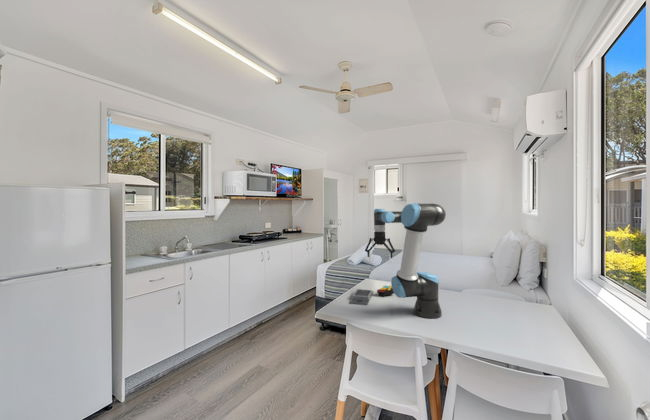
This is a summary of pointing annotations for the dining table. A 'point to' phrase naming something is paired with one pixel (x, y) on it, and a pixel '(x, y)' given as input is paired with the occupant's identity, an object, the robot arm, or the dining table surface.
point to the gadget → (385, 291)
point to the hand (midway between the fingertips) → (379, 262)
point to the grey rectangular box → (361, 297)
